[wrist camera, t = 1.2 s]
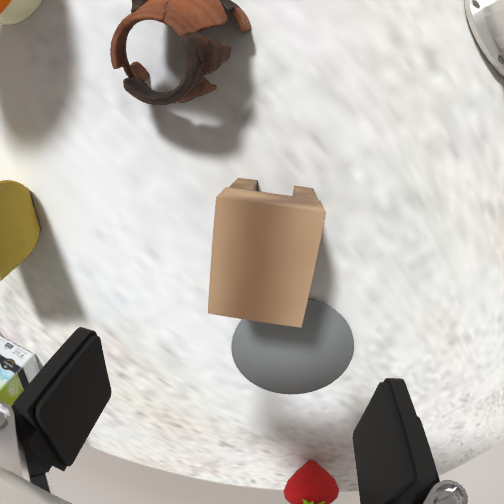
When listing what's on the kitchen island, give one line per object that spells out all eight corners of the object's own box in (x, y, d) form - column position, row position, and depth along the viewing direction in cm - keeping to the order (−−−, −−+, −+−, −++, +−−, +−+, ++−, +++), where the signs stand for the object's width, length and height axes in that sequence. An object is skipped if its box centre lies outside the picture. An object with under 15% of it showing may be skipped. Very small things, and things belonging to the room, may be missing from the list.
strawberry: (329, 471, 38) (331, 526, 29) (281, 468, 39) (277, 524, 30) (342, 452, 36) (347, 512, 27) (290, 449, 37) (287, 511, 27)
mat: (368, 306, 28) (369, 308, 27) (335, 396, 32) (335, 398, 32) (238, 288, 28) (237, 290, 28) (227, 383, 33) (227, 385, 32)
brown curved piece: (281, 52, 21) (238, 78, 16) (197, 97, 27) (143, 137, 22) (204, -57, 15) (135, -62, 10) (132, 5, 21) (64, 25, 16)
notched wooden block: (313, 187, 24) (325, 212, 17) (298, 274, 27) (301, 327, 20) (237, 176, 25) (216, 196, 17) (229, 263, 27) (207, 313, 20)
